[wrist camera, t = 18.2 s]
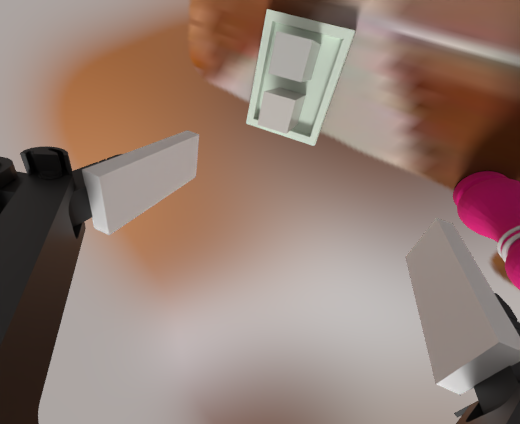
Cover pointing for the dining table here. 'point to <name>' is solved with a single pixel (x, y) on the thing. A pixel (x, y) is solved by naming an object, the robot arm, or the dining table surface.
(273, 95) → the stone
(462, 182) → the pepper mill
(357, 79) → the dining table surface
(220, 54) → the dining table surface
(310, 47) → the stone
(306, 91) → the bin
